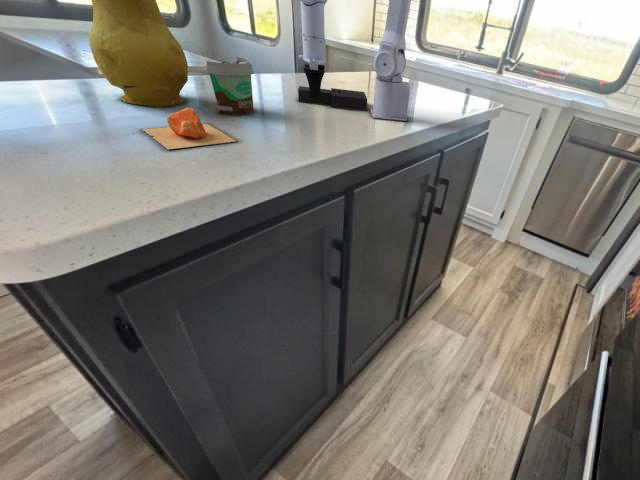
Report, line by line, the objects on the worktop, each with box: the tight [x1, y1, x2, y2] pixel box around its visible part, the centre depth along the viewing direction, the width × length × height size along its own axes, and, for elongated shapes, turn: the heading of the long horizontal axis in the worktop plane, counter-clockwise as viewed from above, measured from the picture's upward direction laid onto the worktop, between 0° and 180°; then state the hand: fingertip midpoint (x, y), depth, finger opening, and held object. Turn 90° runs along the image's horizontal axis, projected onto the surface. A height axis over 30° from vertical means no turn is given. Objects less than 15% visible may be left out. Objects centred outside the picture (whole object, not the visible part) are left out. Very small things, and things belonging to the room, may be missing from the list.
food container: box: [206, 56, 254, 116], centre depth 77 cm, size 12×6×10 cm, turn 168°
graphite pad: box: [330, 87, 368, 112], centre depth 98 cm, size 10×10×3 cm
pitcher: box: [88, 0, 189, 107], centre depth 71 cm, size 17×19×25 cm
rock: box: [141, 107, 236, 150], centre depth 62 cm, size 12×12×4 cm
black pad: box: [297, 85, 339, 106], centre depth 96 cm, size 11×5×3 cm, turn 99°
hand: (315, 96), depth 96 cm, fingers closed on black pad, 5 cm apart
